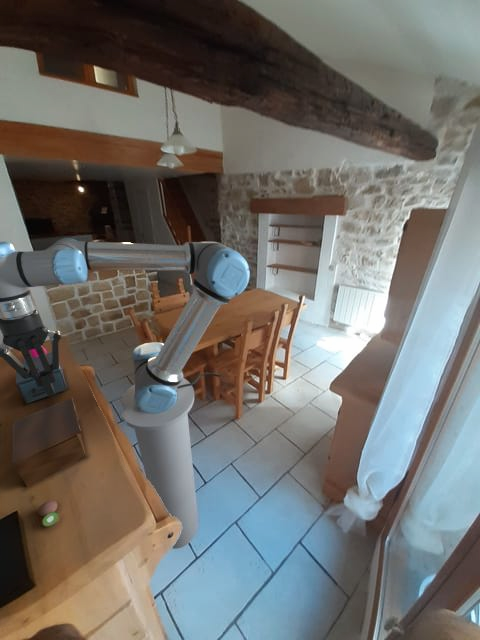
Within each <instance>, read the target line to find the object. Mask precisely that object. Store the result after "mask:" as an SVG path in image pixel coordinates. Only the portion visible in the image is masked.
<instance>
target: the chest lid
mask: <svg viewBox="0 0 480 640" xmlns="http://www.w3.org/2000/svg"><path fill="white" fill-rule="evenodd" d="M78 417H79V416H78V414H77V410H76V406H75V402H74V398H73V397H70V398H67V399H65V400H62V401H60V402H58V403H55V404H53V405H51V406H48V407H45V408H43V409H41V410H38V411H36V412H33V413H31V414H29V415H25V416H24V417H21V418H19V419H16V420H14V421H13V423H12V465H13V466H14V465H15V464H17V463H19V462H22V461H24V460H26V459H28V458H30V457H32V456H34V455H36V454H38V453H40V452H42V451H44V450H46V449H48V448H50V447H53V446H55V445H57V444H59V443H61V442H63V441H65V440H67V439H69V438H71V437H73V436H75V435H77V434H79V433H80V434H81V433H82V429H81V425H80V421H79V418H78Z"/></svg>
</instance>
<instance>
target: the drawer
mask: <svg viewBox="0 0 480 640" xmlns="http://www.w3.org/2000/svg"><path fill="white" fill-rule="evenodd" d="M53 374H54V377H55V382H53V383H52V385H53V388H54V391H55V394H58V393H60V391H61V392H64V391H65V387H64V385H63V382H62V379H61V377H60V374H59V372H56V373H53ZM19 387H20V389H21V391H22V393H23V395H24V397H25V399H26V401H27V404H30V403H32V401H33V402H36V401H38V400H41V399H44V398H47V397H48V395H47V393H46V391H45V388H44V386H42V387H38V386H37V384H36V382H35V379H34V380H30V381H27V382H24V383H22V384H19ZM63 390H64V391H63ZM46 396H47V397H46ZM35 400H36V401H35Z"/></svg>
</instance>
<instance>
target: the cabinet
mask: <svg viewBox="0 0 480 640" xmlns="http://www.w3.org/2000/svg"><path fill="white" fill-rule="evenodd" d="M46 357H47V359H48V361H49V364H52V352H49V353H48V352H47V353H46ZM33 359H34V361H35V363H36V366H37V368H38V371H39V372H41V371H44V368H43V365H42V363H41V361H40V358H39V356H38V357H34V358H33ZM19 361H20V362H21V363H22V364H23V365H24V366H25V367H26V368H27V369H28V371H30V369H29V367H28V365H27V363H26V360H25V359H24V360H19ZM56 372H59V374H60V377H61V379H62V382H63V385H64V387H65V390H68V386H67V383H66V378H65V374H64V370H63V368H62V365H61V362H60V361H59V368H58V369H55V370H53V373H56ZM30 380H34V378H28V379H24V378H22V377H21V376H20V375H19V374H18V373H17V371H16V370H15V384H16V386H17V388H18V390H19V393H20V394H21V397H22V398H23V400H24V403H25V404H27V405H28V403H27V401H26V399H25V397H24V395H23V393H22V391H21V389H20V387H19V384H22V383H24V382H27V381H30ZM65 390H63V391H60V392H64V391H65ZM60 392H59V393H60ZM47 397H48V396H46V397H45V398H47ZM36 401H37V400H35V401H32V402H36ZM32 402H31V403H32Z"/></svg>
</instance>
